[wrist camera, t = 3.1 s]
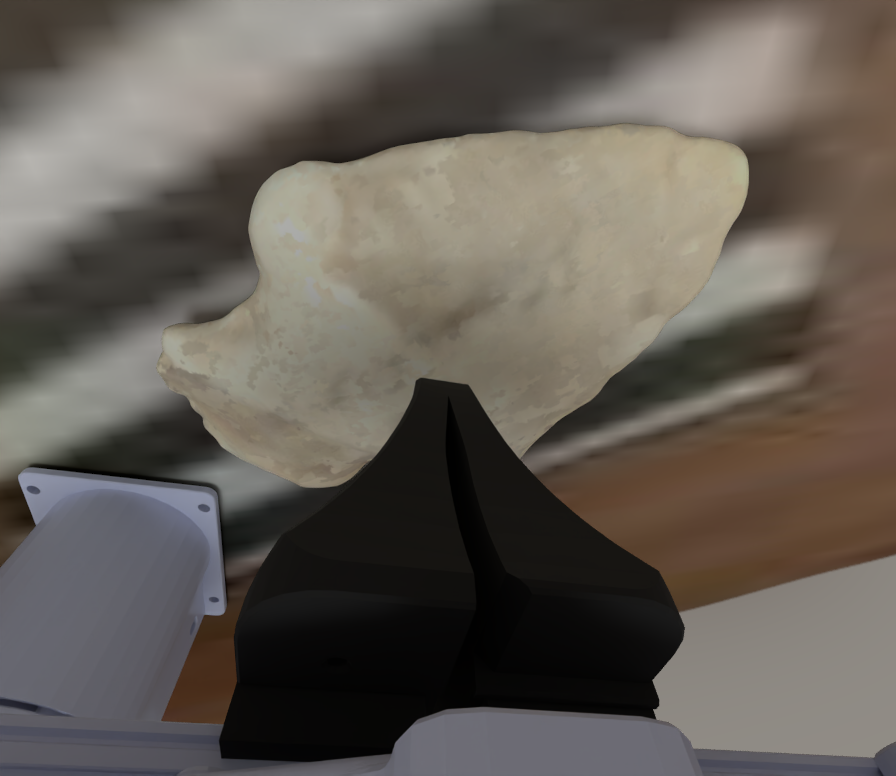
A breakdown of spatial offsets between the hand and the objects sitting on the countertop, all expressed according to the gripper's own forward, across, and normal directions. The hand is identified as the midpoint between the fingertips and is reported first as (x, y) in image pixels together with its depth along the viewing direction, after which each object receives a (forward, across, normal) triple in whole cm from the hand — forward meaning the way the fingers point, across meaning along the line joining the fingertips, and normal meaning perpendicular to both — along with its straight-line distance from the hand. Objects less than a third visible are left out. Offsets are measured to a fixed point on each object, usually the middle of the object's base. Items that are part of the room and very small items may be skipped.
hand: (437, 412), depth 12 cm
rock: (+7, 0, 0) cm, 7 cm away
